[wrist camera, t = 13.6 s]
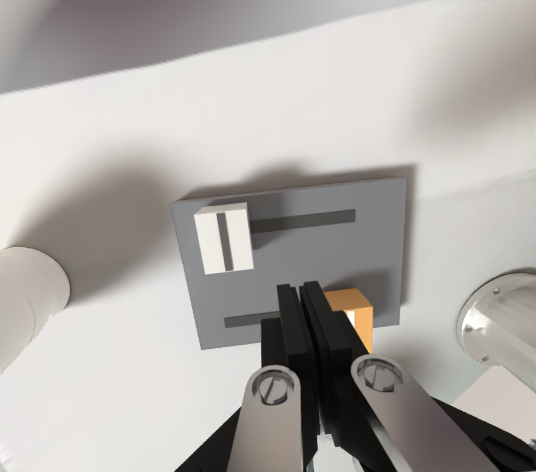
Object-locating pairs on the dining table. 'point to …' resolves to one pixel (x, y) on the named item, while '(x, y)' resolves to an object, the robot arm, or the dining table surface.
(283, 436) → the robot arm
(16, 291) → the jar
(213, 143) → the dining table surface
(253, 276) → the console
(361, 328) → the orange fader
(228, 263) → the block
